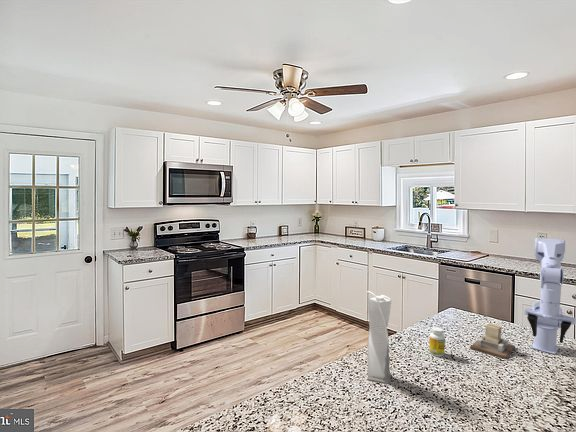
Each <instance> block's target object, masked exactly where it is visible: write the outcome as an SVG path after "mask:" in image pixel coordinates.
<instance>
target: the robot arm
mask: <svg viewBox="0 0 576 432" xmlns="http://www.w3.org/2000/svg"><path fill="white" fill-rule="evenodd" d="M534 240H535V241H534V256H535V259H536V260H537V261H539V262H540V265H541V268H540V270H539V271H540V272H539V281H540V296H539V300H538V301H535V302H533V304H532V305H531V308H527V307H526V308H524V315H527V321H528V323H529V325H530V327H531V332H532V336H533V343H532V344H531V346H530V349H533V350H536V351H542V352H544V353H545V352H546V353H549V354H552V355H556V354H557V352H558V350H559V348H560V346H559V345H557V340H558V339H557V337H558V330H559V329H560V336H559V344H563V342H564V339H565V335H566V333H567V332H568V330H569V329H570V327H571V326H572V325H574V326H575V325H576V317H571V316H568V315H564V314H563V309H562V307H561V296H562V295H561V294H562V291H561V290H562V286H563V284H564V279H565V274H564V272H565V271H564V269H563V267H562V265H561V264H562V263H561V262H562V261H563V259H564V256H565V253H566V240H565V239H564V238H562V239H560V238H543V237H536V238H535V239H534Z"/></svg>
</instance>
